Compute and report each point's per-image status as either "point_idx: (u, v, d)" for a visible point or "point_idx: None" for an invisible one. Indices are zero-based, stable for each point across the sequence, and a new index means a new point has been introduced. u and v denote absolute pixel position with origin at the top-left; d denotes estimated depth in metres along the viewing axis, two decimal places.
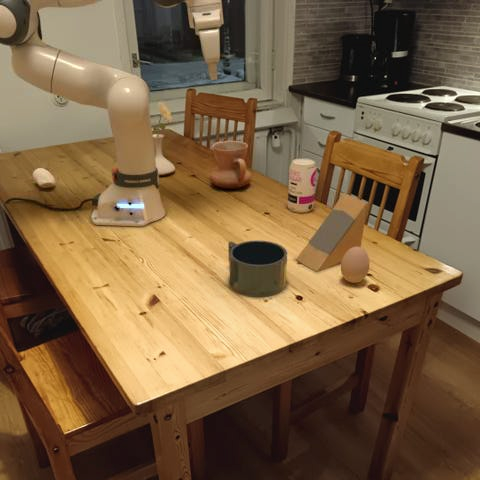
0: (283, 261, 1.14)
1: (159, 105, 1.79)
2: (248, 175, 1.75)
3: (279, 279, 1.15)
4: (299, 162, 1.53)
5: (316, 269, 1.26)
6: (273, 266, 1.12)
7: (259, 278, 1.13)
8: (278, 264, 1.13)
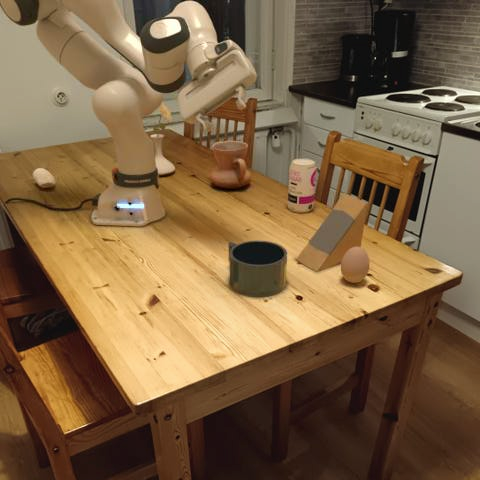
0: (283, 261, 1.14)
1: None
2: (248, 175, 1.75)
3: (279, 279, 1.15)
4: (299, 162, 1.53)
5: (316, 269, 1.26)
6: (273, 266, 1.12)
7: (259, 278, 1.13)
8: (278, 264, 1.13)
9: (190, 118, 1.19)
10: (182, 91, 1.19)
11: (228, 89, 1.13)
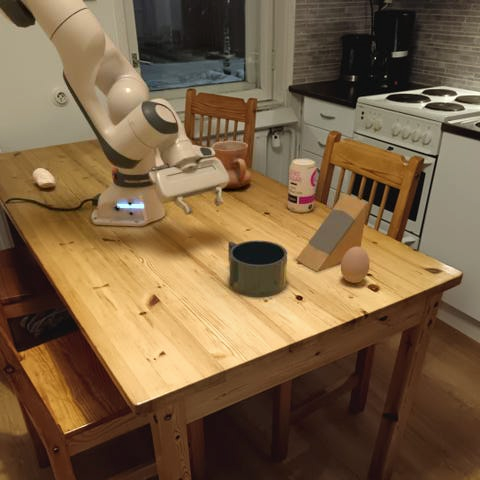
0: (283, 261, 1.14)
1: None
2: (248, 175, 1.75)
3: (279, 279, 1.15)
4: (299, 162, 1.53)
5: (316, 269, 1.26)
6: (273, 266, 1.12)
7: (259, 278, 1.13)
8: (278, 264, 1.13)
9: (171, 197, 1.22)
10: (162, 171, 1.22)
11: (211, 186, 1.28)
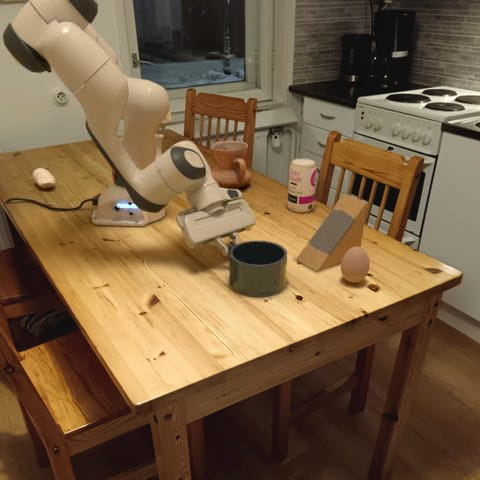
0: (283, 261, 1.14)
1: None
2: (248, 175, 1.75)
3: (279, 279, 1.15)
4: (299, 162, 1.53)
5: (316, 269, 1.26)
6: (273, 266, 1.12)
7: (259, 278, 1.13)
8: (278, 264, 1.13)
9: (200, 242, 1.20)
10: (190, 216, 1.20)
11: (238, 228, 1.26)
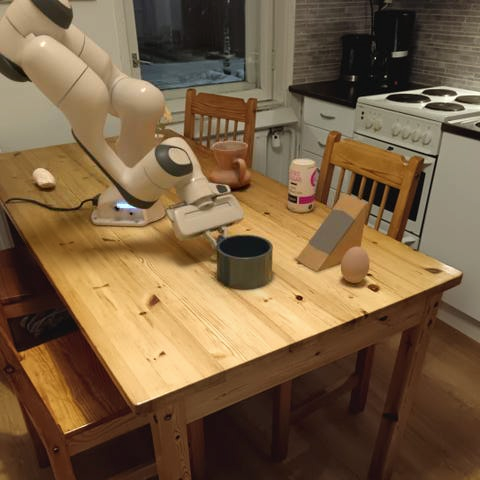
0: (268, 254, 1.17)
1: None
2: (248, 175, 1.75)
3: (264, 272, 1.18)
4: (299, 162, 1.53)
5: (316, 269, 1.26)
6: (257, 259, 1.15)
7: (244, 271, 1.16)
8: (262, 257, 1.15)
9: (189, 235, 1.23)
10: (180, 210, 1.23)
11: (227, 223, 1.29)
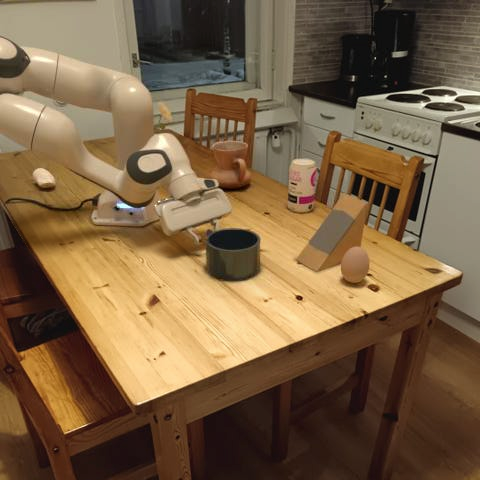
0: (256, 247, 1.20)
1: (159, 105, 1.79)
2: (248, 175, 1.75)
3: (252, 264, 1.21)
4: (299, 162, 1.53)
5: (316, 269, 1.26)
6: (246, 251, 1.18)
7: (233, 263, 1.19)
8: (251, 249, 1.19)
9: (176, 231, 1.27)
10: (167, 205, 1.27)
11: (214, 217, 1.32)
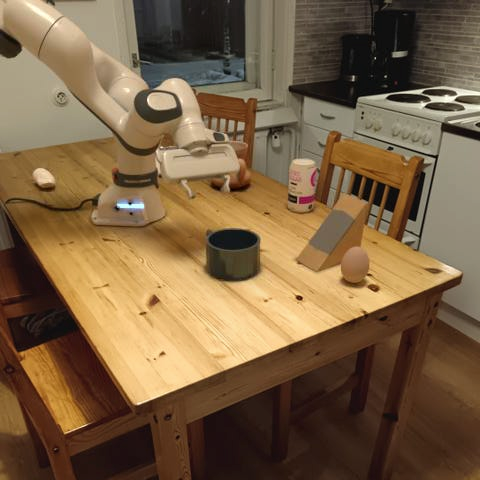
0: (256, 247, 1.20)
1: None
2: (248, 175, 1.75)
3: (252, 264, 1.21)
4: (299, 162, 1.53)
5: (316, 269, 1.26)
6: (246, 251, 1.18)
7: (233, 263, 1.19)
8: (251, 249, 1.19)
9: (175, 179, 1.19)
10: (170, 152, 1.19)
11: (219, 172, 1.23)
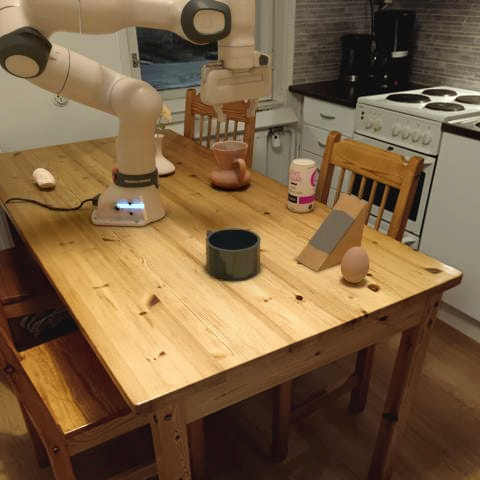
0: (256, 247, 1.20)
1: None
2: (248, 175, 1.75)
3: (252, 264, 1.21)
4: (299, 162, 1.53)
5: (316, 269, 1.26)
6: (246, 251, 1.18)
7: (233, 263, 1.19)
8: (251, 249, 1.19)
9: (213, 104, 1.21)
10: (216, 74, 1.17)
11: (251, 98, 1.27)
